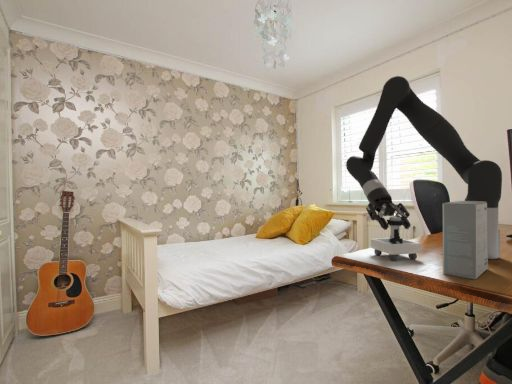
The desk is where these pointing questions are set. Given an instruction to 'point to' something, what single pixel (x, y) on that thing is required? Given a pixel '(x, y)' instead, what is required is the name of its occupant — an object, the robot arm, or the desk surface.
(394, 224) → the push button
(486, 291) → the desk surface
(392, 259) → the parts trolley
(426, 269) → the desk surface
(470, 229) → the hard drive box
